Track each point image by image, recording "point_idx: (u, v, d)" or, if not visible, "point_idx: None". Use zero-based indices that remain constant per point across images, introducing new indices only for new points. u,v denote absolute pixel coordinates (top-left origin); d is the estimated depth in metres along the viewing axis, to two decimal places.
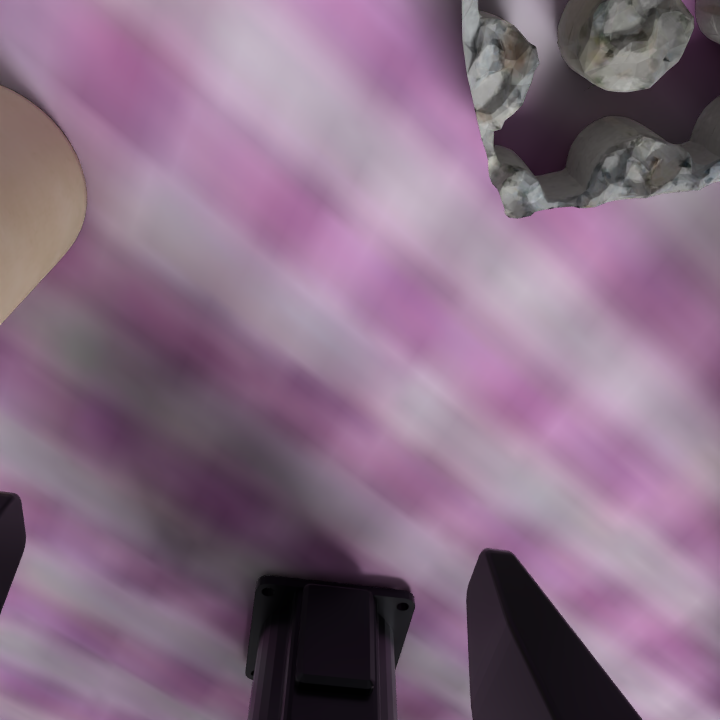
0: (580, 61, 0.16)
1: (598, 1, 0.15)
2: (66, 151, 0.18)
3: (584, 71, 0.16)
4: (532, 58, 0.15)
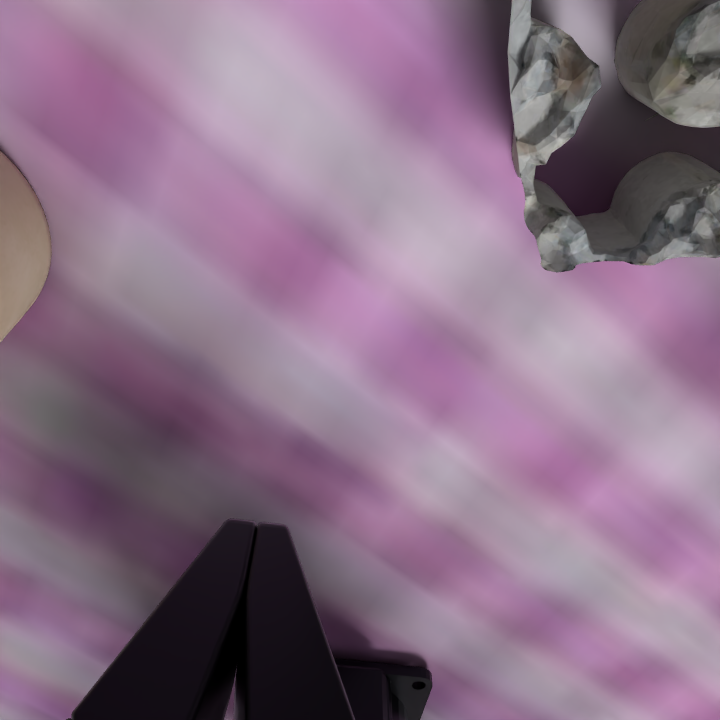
0: (649, 86, 0.13)
1: (680, 13, 0.12)
2: (23, 194, 0.15)
3: (653, 99, 0.13)
4: (593, 79, 0.12)
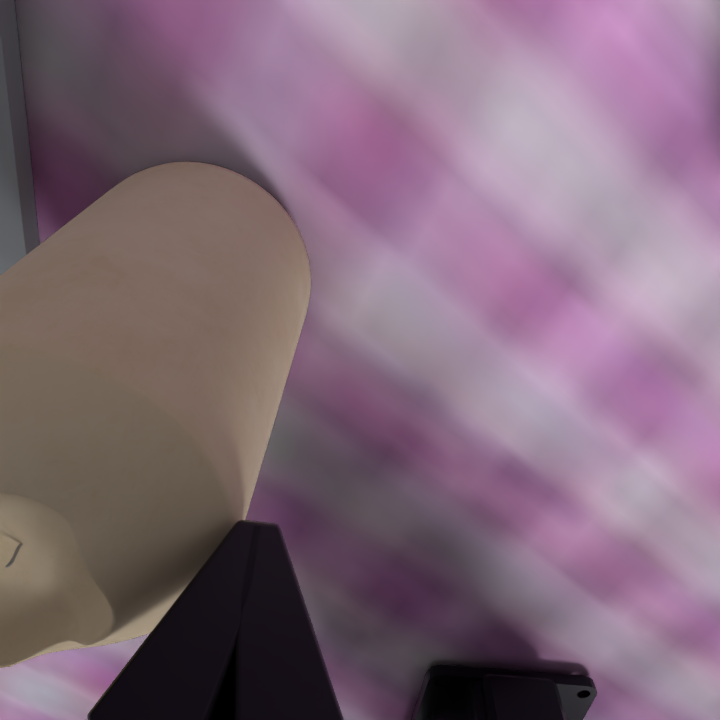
0: None
1: None
2: (300, 243, 0.16)
3: None
4: None
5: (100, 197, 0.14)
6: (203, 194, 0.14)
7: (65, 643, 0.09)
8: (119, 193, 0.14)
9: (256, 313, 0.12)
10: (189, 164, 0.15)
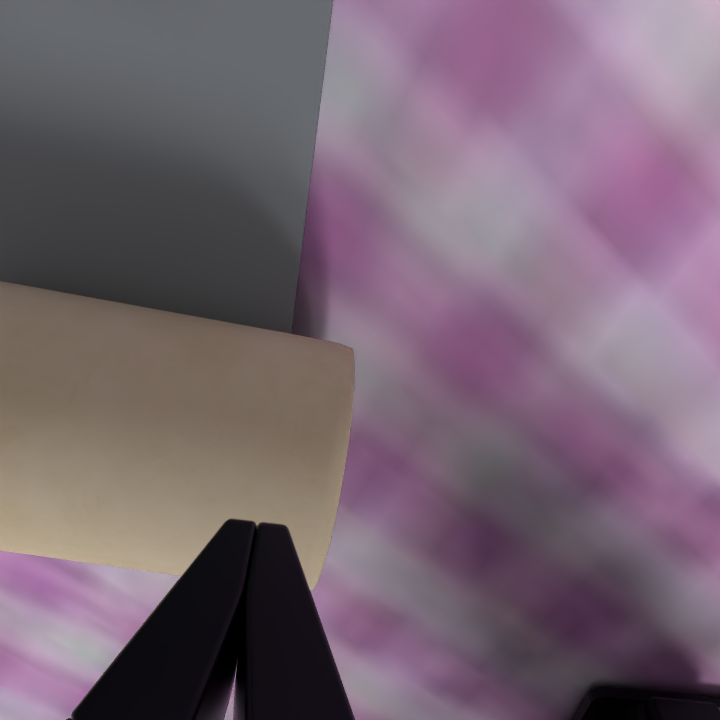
0: None
1: None
2: None
3: None
4: None
5: (265, 378, 0.13)
6: (220, 498, 0.12)
7: None
8: (226, 407, 0.13)
9: (73, 551, 0.13)
10: (320, 471, 0.13)
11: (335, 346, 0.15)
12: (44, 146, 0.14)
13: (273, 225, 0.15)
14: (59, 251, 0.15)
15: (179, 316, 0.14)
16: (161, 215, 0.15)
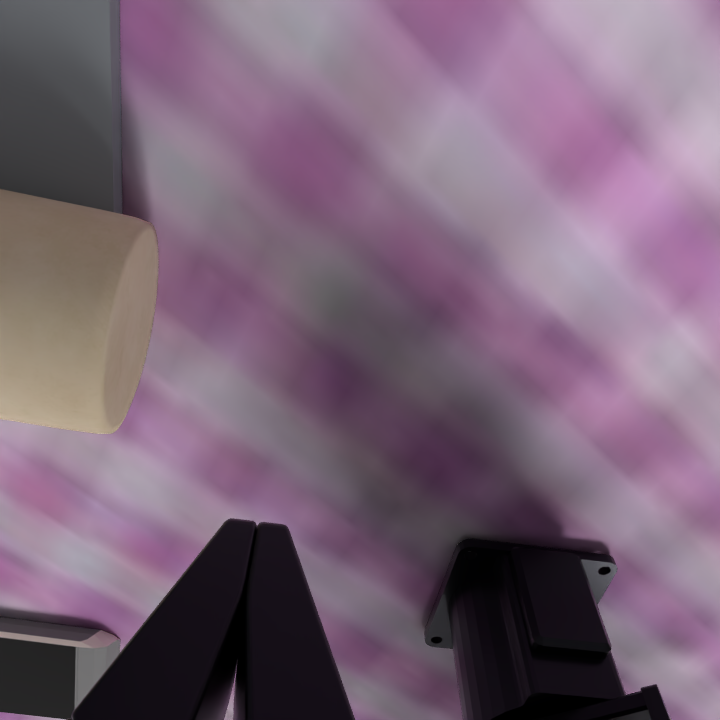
0: None
1: None
2: None
3: None
4: None
5: (19, 333, 0.14)
6: (7, 413, 0.16)
7: None
8: None
9: None
10: (80, 407, 0.15)
11: (99, 271, 0.15)
12: None
13: (79, 6, 0.16)
14: None
15: None
16: None
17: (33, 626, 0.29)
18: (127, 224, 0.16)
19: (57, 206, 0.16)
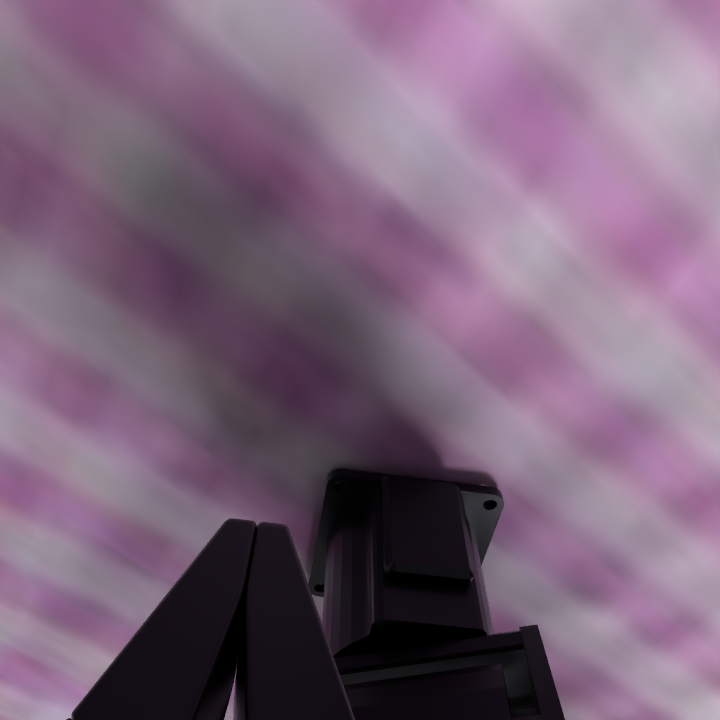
0: None
1: None
2: None
3: None
4: None
5: None
6: None
7: None
8: None
9: None
10: None
11: None
12: None
13: None
14: None
15: None
16: None
17: None
18: None
19: None
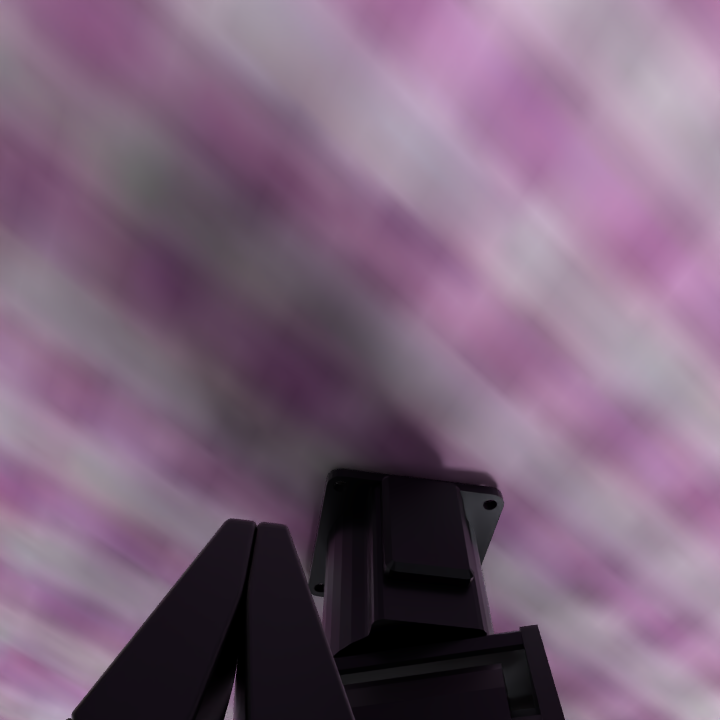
0: None
1: None
2: None
3: None
4: None
5: None
6: None
7: None
8: None
9: None
10: None
11: None
12: None
13: None
14: None
15: None
16: None
17: None
18: None
19: None
